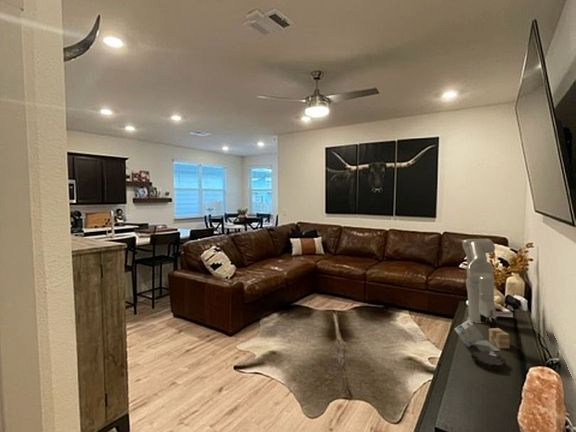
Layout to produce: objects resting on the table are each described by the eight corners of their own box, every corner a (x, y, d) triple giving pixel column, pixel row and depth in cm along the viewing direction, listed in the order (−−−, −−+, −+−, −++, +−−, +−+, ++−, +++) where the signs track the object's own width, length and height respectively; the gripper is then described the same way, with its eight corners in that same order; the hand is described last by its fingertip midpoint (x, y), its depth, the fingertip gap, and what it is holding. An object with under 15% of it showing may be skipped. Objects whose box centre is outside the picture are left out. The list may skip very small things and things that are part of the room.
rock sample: (512, 373, 163) (512, 364, 163) (478, 372, 166) (478, 363, 166) (497, 357, 180) (497, 348, 180) (467, 356, 183) (466, 347, 183)
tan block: (489, 341, 199) (488, 328, 199) (499, 340, 199) (498, 328, 199) (499, 348, 189) (498, 335, 189) (509, 348, 189) (509, 334, 189)
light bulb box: (468, 318, 198) (453, 328, 200) (473, 323, 191) (457, 333, 193) (479, 332, 198) (463, 342, 200) (484, 337, 192) (468, 347, 193)
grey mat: (468, 341, 201) (468, 341, 201) (486, 340, 201) (486, 340, 200) (481, 351, 187) (481, 351, 187) (500, 350, 187) (500, 350, 187)
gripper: (472, 293, 202) (474, 320, 203) (488, 301, 185) (490, 330, 186) (484, 292, 202) (486, 319, 203) (502, 300, 185) (503, 330, 185)
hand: (488, 324), depth 194 cm, fingers open, 9 cm apart
